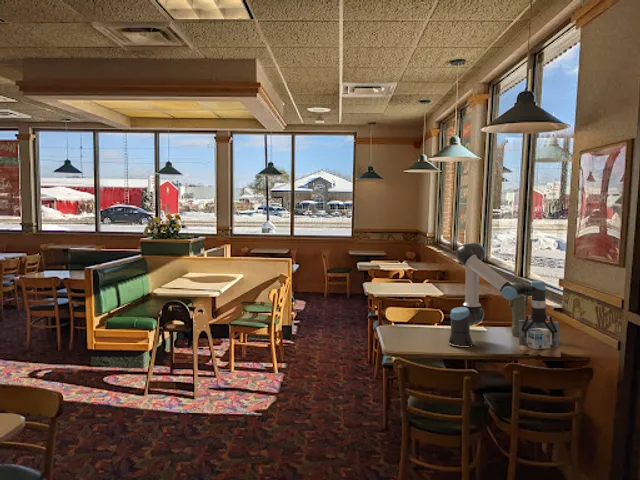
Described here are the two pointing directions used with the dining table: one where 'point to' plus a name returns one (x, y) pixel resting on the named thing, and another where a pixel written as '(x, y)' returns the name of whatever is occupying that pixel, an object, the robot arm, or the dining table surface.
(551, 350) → the wall board
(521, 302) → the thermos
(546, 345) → the light bulb box
